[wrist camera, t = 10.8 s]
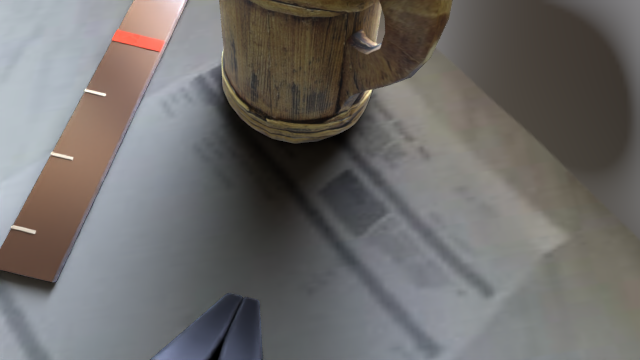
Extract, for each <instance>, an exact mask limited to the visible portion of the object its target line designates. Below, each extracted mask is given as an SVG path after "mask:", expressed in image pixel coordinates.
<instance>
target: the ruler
mask: <svg viewBox="0 0 640 360" xmlns="http://www.w3.org/2000/svg"><path fill="white" fill-rule="evenodd" d="M187 1H188V0H134V1H133V3H132V5H131V6H130V8H129V10H128V12H127V14H126V16H125V18H124V20H123V21H122V23H121V25H120V27H119V29H118V30H117V31H116V33H115V35H114V36H113V38H112V42H111V44H110V46H109V47H108V49H107V51H106V53H105V55H104V57H103V59H102V61H101V62H100V64H99V66H98V68H97V70H96V72H95V74H94V75H93V77H92V79H91V81H90V83H89V85H88V87H87V88H86V89H85V90H84V94H83V96H82V98H81V100H80V101H79V103H78V105H77V107H76V109H75V111H74V113H73V115H72V116H71V118H70V120H69V122H68V124H67V126H66V128H65V129H64V131H63V133H62V135H61V137H60V139H59V141H58V142H57V144H56V146H55V148H54V150H53V152H51V154H50V155H51V156H50V157H49V159H48V161H47V163H46V165H45V167H44V169H43V170H42V172H41V174H40V176H39V178H38V180H37V182H36V183H35V185H34V187H33V189H32V191H31V193H30V195H29V197H28V198H27V200H26V202H25V204H24V206H23V208H22V210H21V211H20V213H19V215H18V217H17V219H16V221H15V223H14V224H13V225H12V226H11V230H10V232H9V234H8V236H7V238H6V239H5V241H4V243H3V245H2V247H1V249H0V270H3V271H7V272H11V273H15V274H19V275H23V276H27V277H32V278H36V279H40V280H44V281H48V282H56V281H57V279H58V277H59V275H60V272H61V270H62V268H63V266H64V264H65V262H66V260H67V257H68V255H69V253H70V251H71V249H72V247H73V245H74V242H75V240H76V238H77V236H78V234H79V232H80V230H81V227H82V225H83V223H84V221H85V219H86V217H87V215H88V212H89V210H90V208H91V206H92V204H93V202H94V200H95V198H96V195H97V193H98V191H99V189H100V187H101V185H102V183H103V180H104V178H105V176H106V174H107V172H108V170H109V168H110V165H111V163H112V161H113V159H114V157H115V155H116V153H117V150H118V148H119V146H120V144H121V142H122V140H123V138H124V135H125V133H126V131H127V129H128V127H129V125H130V123H131V121H132V118H133V116H134V114H135V112H136V110H137V108H138V106H139V103H140V101H141V99H142V97H143V95H144V93H145V91H146V88H147V86H148V84H149V82H150V80H151V78H152V76H153V73H154V71H155V69H156V67H157V65H158V63H159V61H160V58H161V56H162V54H163V52H164V50H165V48H166V46H167V44H168V41H169V39H170V37H171V35H172V33H173V31H174V29H175V26H176V24H177V22H178V20H179V18H180V16H181V14H182V11H183V9H184V7H185V5H186V3H187Z"/></svg>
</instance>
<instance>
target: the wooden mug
mask: <svg viewBox="0 0 640 360" xmlns="http://www.w3.org/2000/svg"><path fill="white" fill-rule="evenodd" d="M452 1H453V0H219V2H220V14H221V26H222V38H223V53H222V85H223V90H224V93H225V95H226V97H227V99H228V102H229V104H230V105H231V106H232V108H233V109H234V110H235V112H236V113H237V114H238V115H239V117H240V118H241V119H242V120H243V121H245V122H246V123H247V124H248V125H249V126H251V127H252V128H253V129H255V130H257V131H259V132H261V133H262V134H264V135H266V136H268V137H270V138H272V139H276V140H281V141H285V142H290V143H294V144H295V143H304V142H314V141H319V140H322V139H325V138H328V137H331V136H333V135H336V134H339V133H341V132H343V131H345V130H347V129H349V128H350V127H351V126H353V125H354V124H355V123H356V122H357V120H358V119H359V118H360V116H361V115H362V113H363V112H364V111H365V108H366V106H367V103H368V101H369V98H370V96H371V93H372V91H373V89H376V88H380V87H384V86H388V85H391V84H394V83H397V82H399V81H402V80H405V79H407V78H410V77H412V76H413V75H414V74H415V73H416V72H417V71H418V70H419V69H420V68H421V67H422V66H423V65H424V64H425V63H426V62H427V61H428V60H429V59H430V58H431V56H432V53H433V51H434V49H435V47H436V45H437V43H438V40H439V39H440V36H441V34H442V32H443V30H444V28H445V26H446V23H447V21H448V19H449V15H450V10H451V5H452ZM381 9H382V10H383V13H384V16H385V35H384V38H383V41H382V43H381V44H376V40H377V34H378V28H379V22H380V15H381Z"/></svg>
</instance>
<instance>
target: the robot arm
mask: <svg viewBox="0 0 640 360" xmlns="http://www.w3.org/2000/svg"><path fill="white" fill-rule="evenodd" d="M150 360H263V352H262V335H261V318H260V302H259V300H257V299H253V298H249V297H244V298H243V297H242V296H241V295H237V294H232V293H227V294H226V295H224V296H223V297H222V298H221V299H220V300H219V301H217V302H216V303H215V304H214V305H213V306H212V307H211V308H209V309H208V310H207V311H206V312H205V313H204V314H202V315H201V316H200V317H199V318H198V319H197V320H195V321H194V322H193V323H192V324H191V325H190V326H188V327H187V328H186V329H185V330H184V331H183V332H182V333H180V334H179V335H178V336H177V337H176V338H175V339H173V340H172V341H171V342H170V343H169V344H168V345H166V346H165V347H164V348H163V349H162V350H161V351H159V352H158V353H157V354H156V355H155V356H154V357H153V358H151V359H150Z"/></svg>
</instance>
